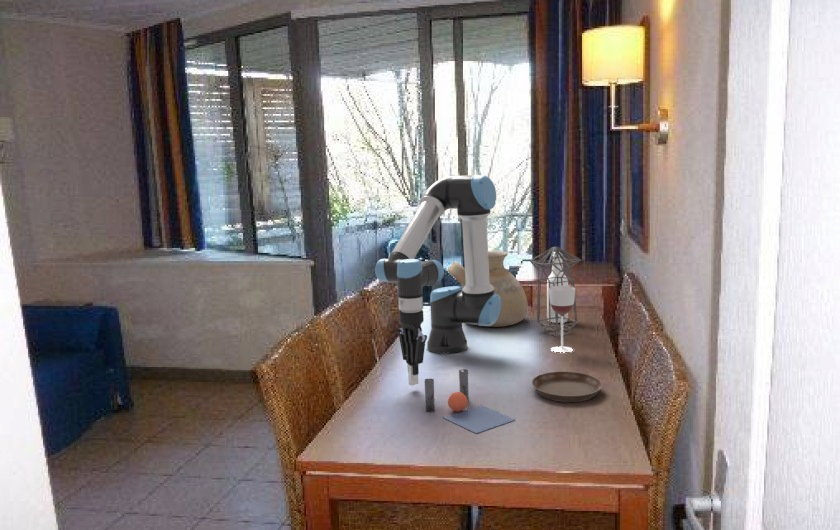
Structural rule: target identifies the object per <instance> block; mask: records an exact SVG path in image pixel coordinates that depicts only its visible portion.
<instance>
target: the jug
mask: <svg viewBox="0 0 840 530" xmlns="http://www.w3.org/2000/svg"><path fill="white" fill-rule="evenodd" d="M507 256H508V252H506V251H503V250H501V251H499V250H491V251H490V250H488V259H489V279H490V284H491V285H492V286H493V287H494V294H497V295H499V296H500V298H501V310H500V314H499V316H498V319H497V320H496V322H495V323H494V324H493V325H491V326H488V327H490V328H492V327H493V328H499V327H500V328H501V327H507V326H513V325H515V324H518V323H520V322H522V321H523V320H525V318H526V316H527V315H528V310H529V304H528V300H527V295H526V293H525V290H524V288H523V286H522V284H521V283H520V281H519V280H518V279H517V278H516V277H515V276H514V274H513V273H512V272H510V271H508V269H506V268H505V264H504V260H505V259H506V257H507ZM447 272H448V273H449V275H451V276H452V277H453V278H454V279H455V280H456V281H457V282H458V283H459V284H460V285H461V286H462V288H463V287H464V286H465V285H466V279H465V266H463V265H462V264H460V263H459V262H458V261H457V260H455V261H453V262H452V263H451V265H450V266H449V267H448V269H447Z"/></svg>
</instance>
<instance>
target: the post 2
mask: <svg viewBox="0 0 840 530" xmlns="http://www.w3.org/2000/svg"><path fill="white" fill-rule="evenodd" d="M458 376H459V379H458V380H459V392H461V393H463V394H464V395H465V396H466V398H467V402H468V401H469V370H468V369H459V371H458Z"/></svg>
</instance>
